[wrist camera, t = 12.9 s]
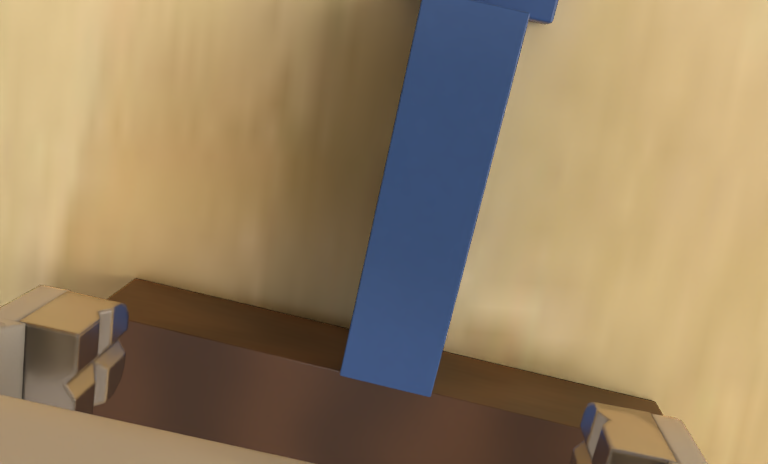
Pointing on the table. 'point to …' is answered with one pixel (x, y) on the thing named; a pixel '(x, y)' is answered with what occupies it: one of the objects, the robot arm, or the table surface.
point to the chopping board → (328, 391)
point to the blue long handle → (434, 185)
